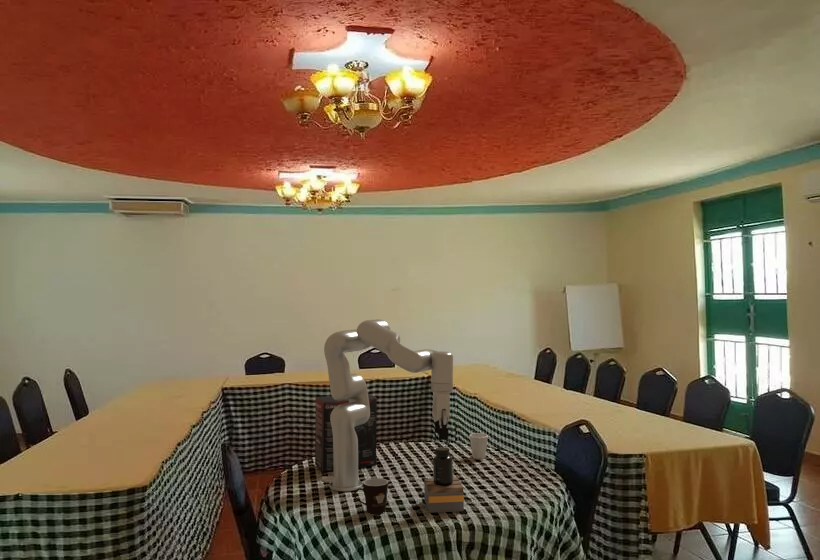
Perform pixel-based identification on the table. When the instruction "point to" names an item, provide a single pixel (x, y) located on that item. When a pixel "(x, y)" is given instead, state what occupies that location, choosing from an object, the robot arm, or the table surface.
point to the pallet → (434, 488)
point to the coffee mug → (374, 495)
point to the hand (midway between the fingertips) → (441, 435)
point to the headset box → (325, 434)
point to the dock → (444, 501)
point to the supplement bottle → (443, 467)
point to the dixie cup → (478, 445)
